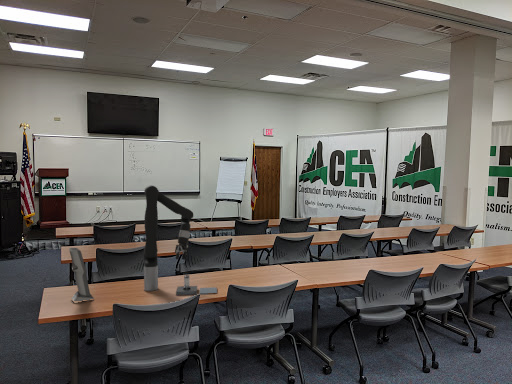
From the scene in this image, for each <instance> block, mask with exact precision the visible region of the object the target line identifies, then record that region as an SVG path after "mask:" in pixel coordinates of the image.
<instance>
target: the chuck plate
mask: <svg viewBox="0 0 512 384" xmlns="http://www.w3.org/2000/svg"><path fill="white" fill-rule="evenodd" d="M189 289H190V290H184V285H183V286H179V285H178V286H177V288H176V291H175V296H195V295H196V294H197V295H198V285H189Z"/></svg>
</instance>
